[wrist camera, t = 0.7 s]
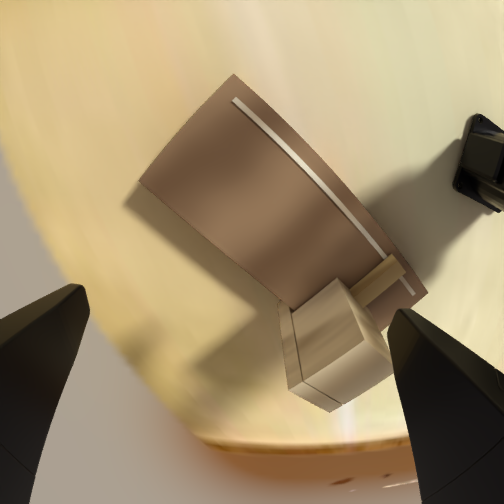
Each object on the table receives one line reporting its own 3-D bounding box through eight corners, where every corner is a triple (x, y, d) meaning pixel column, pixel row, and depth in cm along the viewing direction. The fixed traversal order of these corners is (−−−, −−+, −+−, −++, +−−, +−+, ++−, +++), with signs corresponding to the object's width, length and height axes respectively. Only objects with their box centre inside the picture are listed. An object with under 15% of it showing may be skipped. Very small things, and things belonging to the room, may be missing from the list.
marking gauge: (396, 261, 21) (448, 330, 14) (310, 330, 24) (329, 412, 17) (368, 226, 20) (423, 292, 13) (277, 304, 23) (288, 390, 16)
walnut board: (415, 275, 23) (428, 293, 20) (342, 334, 25) (349, 355, 23) (235, 77, 16) (233, 73, 14) (150, 171, 19) (137, 181, 16)
